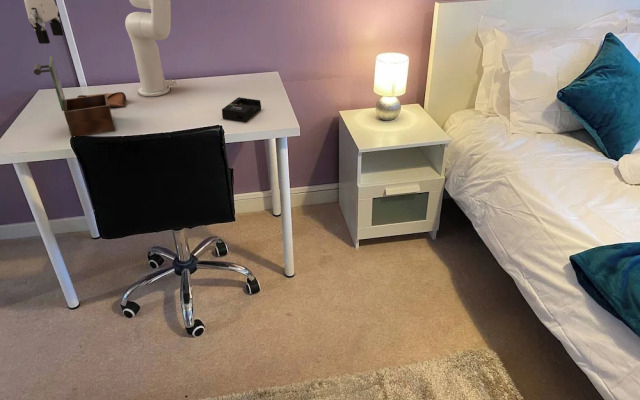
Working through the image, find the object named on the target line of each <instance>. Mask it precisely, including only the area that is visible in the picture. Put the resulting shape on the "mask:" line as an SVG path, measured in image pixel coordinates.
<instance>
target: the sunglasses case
mask: <svg viewBox="0 0 640 400" xmlns="http://www.w3.org/2000/svg"><path fill="white" fill-rule="evenodd" d="M101 94H102V93H97V94H95V95H101ZM106 94H107V97H108V101H109V105H110V109H115V108H121V107H125V106H126V105H127V97H126V94H125V93H124V92H122V91H117V92H112V93H106ZM93 95H94V94H88V95H86V94H85V95H83V94H80V95H78V96H77V97H76V98H79V97H86V96H93Z"/></svg>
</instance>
